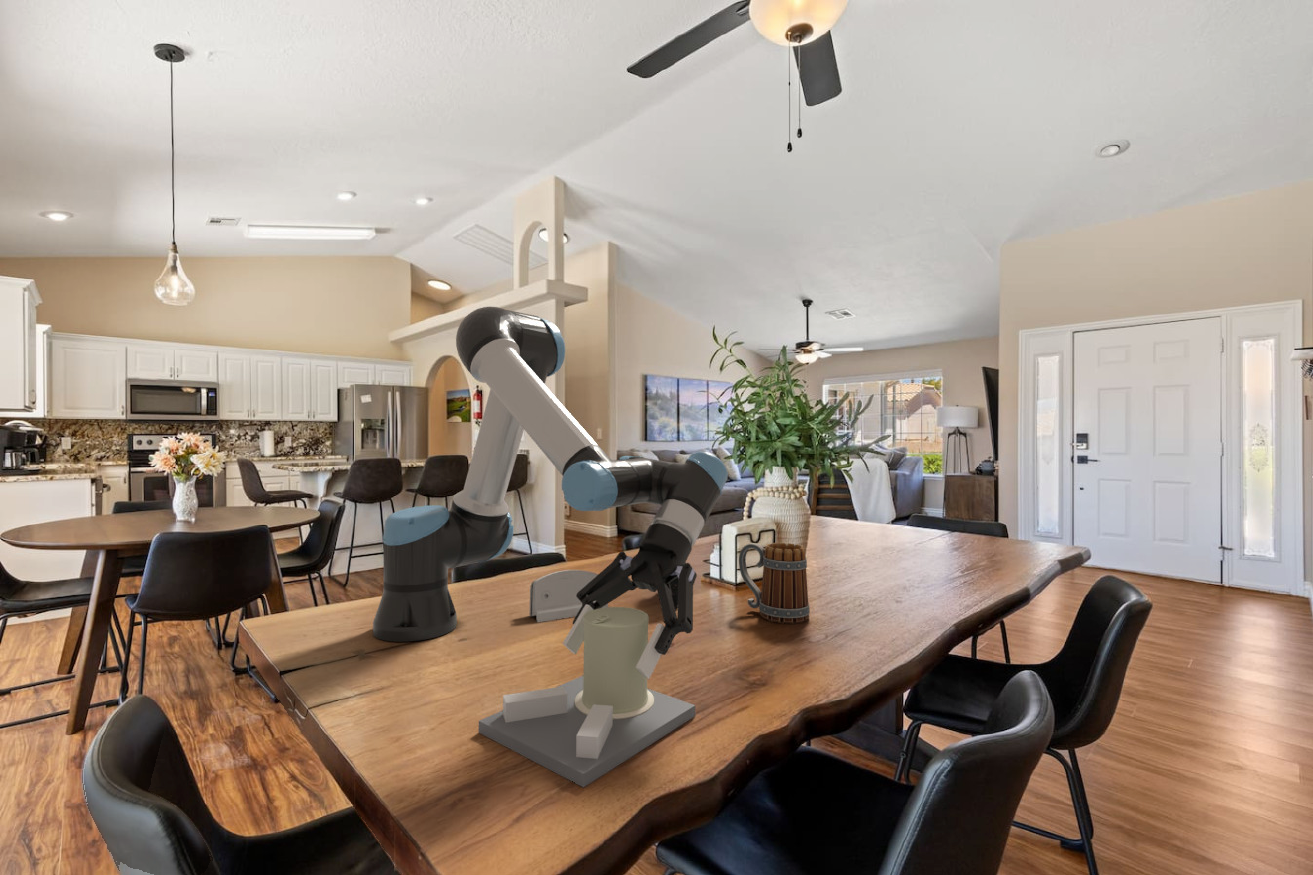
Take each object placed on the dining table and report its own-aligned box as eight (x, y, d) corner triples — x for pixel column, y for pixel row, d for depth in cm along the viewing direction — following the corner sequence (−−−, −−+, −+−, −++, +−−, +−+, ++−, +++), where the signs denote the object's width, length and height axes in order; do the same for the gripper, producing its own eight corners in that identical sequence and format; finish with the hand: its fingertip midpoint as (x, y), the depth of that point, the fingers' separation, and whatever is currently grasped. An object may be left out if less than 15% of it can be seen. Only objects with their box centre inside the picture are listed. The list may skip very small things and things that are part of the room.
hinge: (536, 622, 122) (531, 572, 125) (529, 624, 126) (524, 576, 129) (610, 611, 131) (604, 564, 134) (601, 613, 135) (595, 568, 137)
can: (568, 698, 84) (569, 612, 84) (616, 679, 91) (617, 599, 90) (613, 721, 77) (615, 627, 77) (661, 698, 84) (663, 612, 84)
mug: (816, 614, 130) (817, 545, 130) (799, 627, 121) (800, 553, 121) (749, 603, 138) (749, 537, 138) (729, 614, 129) (729, 544, 129)
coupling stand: (478, 732, 78) (478, 701, 78) (595, 679, 94) (595, 654, 94) (583, 787, 66) (583, 750, 66) (695, 716, 83) (695, 686, 83)
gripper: (750, 561, 88) (689, 699, 76) (622, 541, 104) (555, 652, 92) (731, 530, 84) (665, 670, 72) (601, 513, 99) (528, 626, 88)
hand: (603, 660), depth 82 cm, fingers open, 13 cm apart
